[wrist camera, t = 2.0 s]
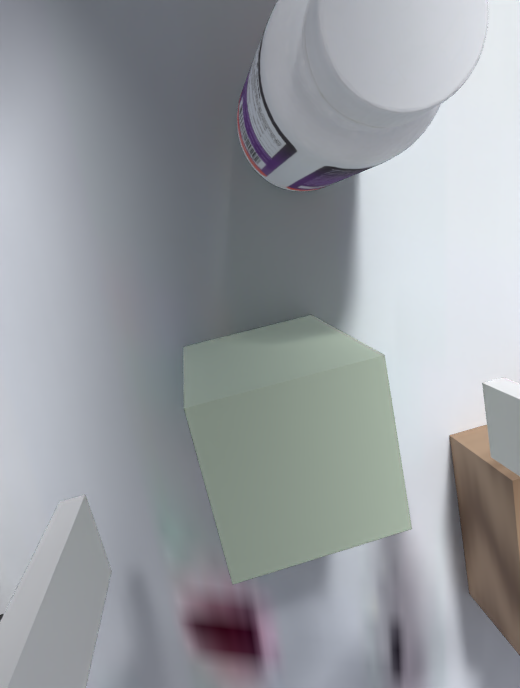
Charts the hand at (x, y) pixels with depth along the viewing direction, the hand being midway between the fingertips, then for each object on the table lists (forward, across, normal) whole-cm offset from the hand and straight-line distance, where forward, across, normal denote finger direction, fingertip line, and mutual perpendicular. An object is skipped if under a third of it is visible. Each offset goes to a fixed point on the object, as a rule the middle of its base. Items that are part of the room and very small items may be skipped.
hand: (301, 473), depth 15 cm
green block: (+7, 0, 0) cm, 7 cm away
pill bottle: (+7, +4, +12) cm, 14 cm away
